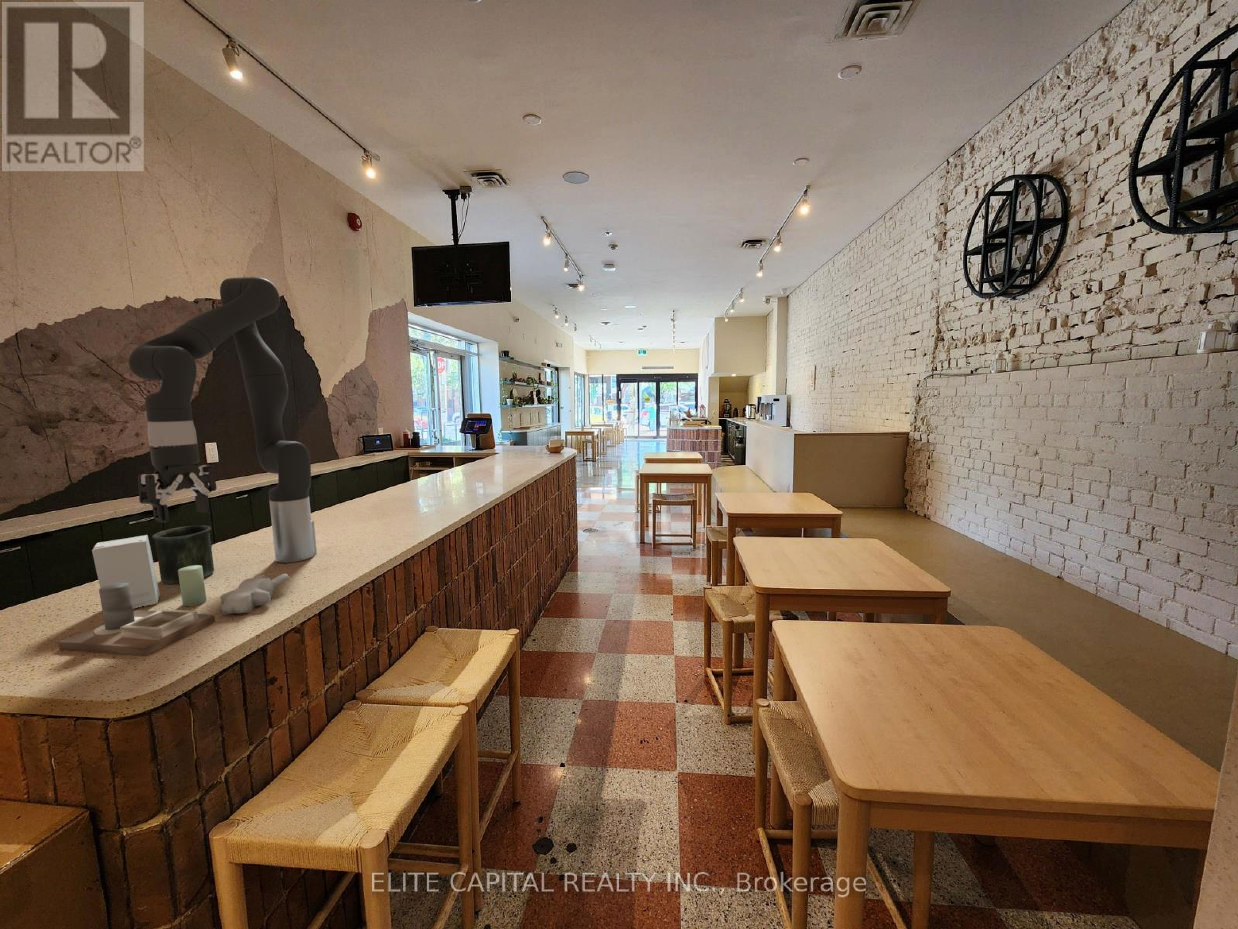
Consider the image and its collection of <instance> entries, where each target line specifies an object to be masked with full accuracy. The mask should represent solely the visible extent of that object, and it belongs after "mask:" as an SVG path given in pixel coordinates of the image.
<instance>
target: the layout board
mask: <svg viewBox="0 0 1238 929" xmlns="http://www.w3.org/2000/svg"><path fill="white" fill-rule="evenodd" d="M98 591H99V592H98V593H99V597H100V598H99V599H100V605H101V610H102V616H103V622H104V623H102V624H99V625H96V626H93V627H92V628H91V627H90V628H88V629H86V630H84V631H81V632H79V633H77V634H73V635H71V636H68V637H65V638H64V639H62V640H59V641H57V644H58V648H59V650H66V651H76V650H77V651H78V652H92V653H102V654H103V653H104V654H119V655H131V656H145V657H146V656H148V655H151V654H153V653H155V652H157V651H158V650H161V649H163V648H165V647H167V646H170V645H172V644H174V643H175V642H177V641H179V640H181V639H183V638H185V637H188V636H190V635H191V634H193V633H196V632H197V631H199V630H202V629H203V628H205V627H207V626H209V625H212V624H214V623H215V622H216V616H215V614H210V613H209V614H208V613H198V611H197V610H186V609H185V610H184V609H183V610H182V609H168V608H167V609H166V608H162V609H160V610H142V609H140V610H139V609H136V610H134V609H133V606H132V600H131V593H130V587H129V583H117V584H112V585H108V586H104V587H102V588H100V587H99V589H98ZM79 650H80V651H79Z"/></svg>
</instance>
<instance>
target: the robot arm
mask: <svg viewBox="0 0 1238 929" xmlns="http://www.w3.org/2000/svg"><path fill="white" fill-rule="evenodd" d="M219 296H220V300H221V304H222V305H220V306H218V307H214V308H211V309H210V310H209V309H208V310H207V311H204V312H202V313H199V314H197V315H195V316H193V317H191V318H190V319H188V320H186V321H185V322H184V323H182V324H181V325H179V326H177V327H176V328H175V329H173V330H172V331H171V332H168V333H165V334H164V335H160V336H158V337H156V338H153V339H150V340H149V341H146V342H144V343H142V344H140V345H138V346H137V347H136V348H135V349H133V350H132V351H131V353H130V355H129V357H128V368H129V369H130V370H131V373H133V374H134V375H135V376H137V377H139V378H140V379H144V380H146V381H153V382H154V381H157V382H159V381H161V385H160V388H159V390H158V391H155V392H152V393H149V394H147V395H146V397H145V399H144V404H145V413H146V417H147V438H148V446H149V452H150V459H151V460H150V461H151V465H152V466H153V467H154V469H155V471H154V473H152V474H151V473H150V474H149V473H148V474H147V473H146V474H145V473H143V474H142V473H141V474H139V475H138V476H137V486H138V487H137V488H138V497H139V498H138V499H139V503H140V504H144V505H150V506H151V507H152V512H153V513H152V514H153V518H154V520H155V521H156V522H157V523H160V524H161V523H162V524H163V523H169V522H170V514H169V508H168V504H167V502H168V500H169V498H170V496H173V495H174V493H175V492H177V491H182V490H183V489H184V490H186V489H187V490H190V491H191V492H192V493H194V495H195V496H194V499H195V507H196V508H195V509H196V512H197V513H204V514H205V513H207V512H208V511H209V510H210V502H209V496H210V493H212V492H215V491H217V490H218V489H217V488H218V487H217V484H216V478H215V471H214V467H213V465H210V464H209V465H208V464H206V465H205V464H202V465H201V464H200V465H198V464H199V463H200V460H201V459H200V452H199V445H198V437H197V431H196V427H195V425H194V420H193V411H192V410H193V409H192V403H191V402H192V397H193V395H194V394H193V393H194V387H195V384H196V378H197V374H198V373H197V371H198V370H197V369H198V368H197V364H196V360H200V359H202V358H204V357H206V356H208V355H209V354H210V353H212V352H213V351H214V350H215V349H216V348H218V347H219V345H222V343H223V342H225V341H227V339H229V338H231V337H233V340H234V343H235V347H236V351H237V355H238V359H239V364H240V368H241V374H242V379H243V383H244V386H245V391H246V395H247V399H248V403H249V408H250V414H251V418H252V422H253V429H254V430H253V431H254V438H255V448H256V450H255V451H256V456H257V461H258V463H259V465H260V467H261V468H262V469H263V470H264V471H265V472H267V473H270V474H274V475H278V477H277V478H278V479H277V480H278V482H277V485H276V486H275V487H272V488H270V489H269V490H268V500H269V501H268V502H269V510H270V518H271V520H270V521H271V529H272V530H271V531H272V541H273V549H274V558H275V559H274V560H275V562H277V563H281V564H282V563H283V564H284V563H287V564H288V563H296V562H301V561H304V560H307V559H308V560H309V559H310V558H312V557H313V556H315V554H317V541H316V530H315V521H313V520H312V514H311V504H310V502H311V501H310V489H311V486H312V464H311V463H312V462H311V455H310V452H309V449H308V448H307V447H306V445H304V444H303V443H302V442H299V441H295V440H293V441H292V440H286V438H285V433H284V427H283V415H284V412H285V408H286V405H287V401H288V399H289V385H288V381H287V380H288V379H287V375H286V371H285V368H284V365H283V364H282V362H281V361H280V359H279V358H278V357H277V355H276V354H275V353H274V352H273V351H272V349H271V348H270V347H269V345H267V344H266V343H265V341H264V340H263V338H262V336H261V335H260V333H259V330H258V327H257V326H258V325H257V323H256V322H257V321H258V320H261V319H263V318H265V317H267V316H269V315H272V314H274V313H275V312H276V311H277V310H278V309H279V307H280V302H281V297H280V293H279V291H278V289H277V287H276V286H275V284H274V283H273V282H272V281H270V280H268V279H266V278H264V277H260V276H259V277H257V276H247V277H230V278H225V279H224V280H223V281H222V282H221V284H220V287H219Z"/></svg>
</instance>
